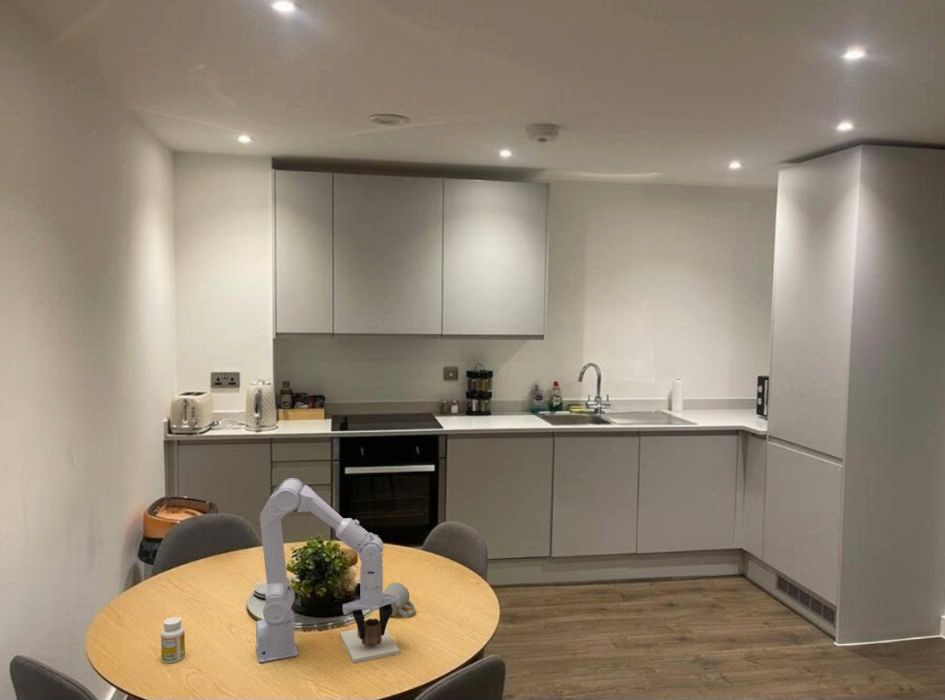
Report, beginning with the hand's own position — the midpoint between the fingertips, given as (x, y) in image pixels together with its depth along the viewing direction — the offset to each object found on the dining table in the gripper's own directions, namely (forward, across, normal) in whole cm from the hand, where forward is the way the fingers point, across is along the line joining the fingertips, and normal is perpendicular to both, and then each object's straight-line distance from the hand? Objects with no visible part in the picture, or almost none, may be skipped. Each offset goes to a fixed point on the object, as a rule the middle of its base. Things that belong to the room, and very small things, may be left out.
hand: (371, 635), depth 177 cm
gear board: (+4, 0, +2) cm, 4 cm away
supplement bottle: (+4, -47, +14) cm, 49 cm away
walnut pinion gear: (+2, 0, 0) cm, 2 cm away
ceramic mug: (+4, +12, +18) cm, 22 cm away
